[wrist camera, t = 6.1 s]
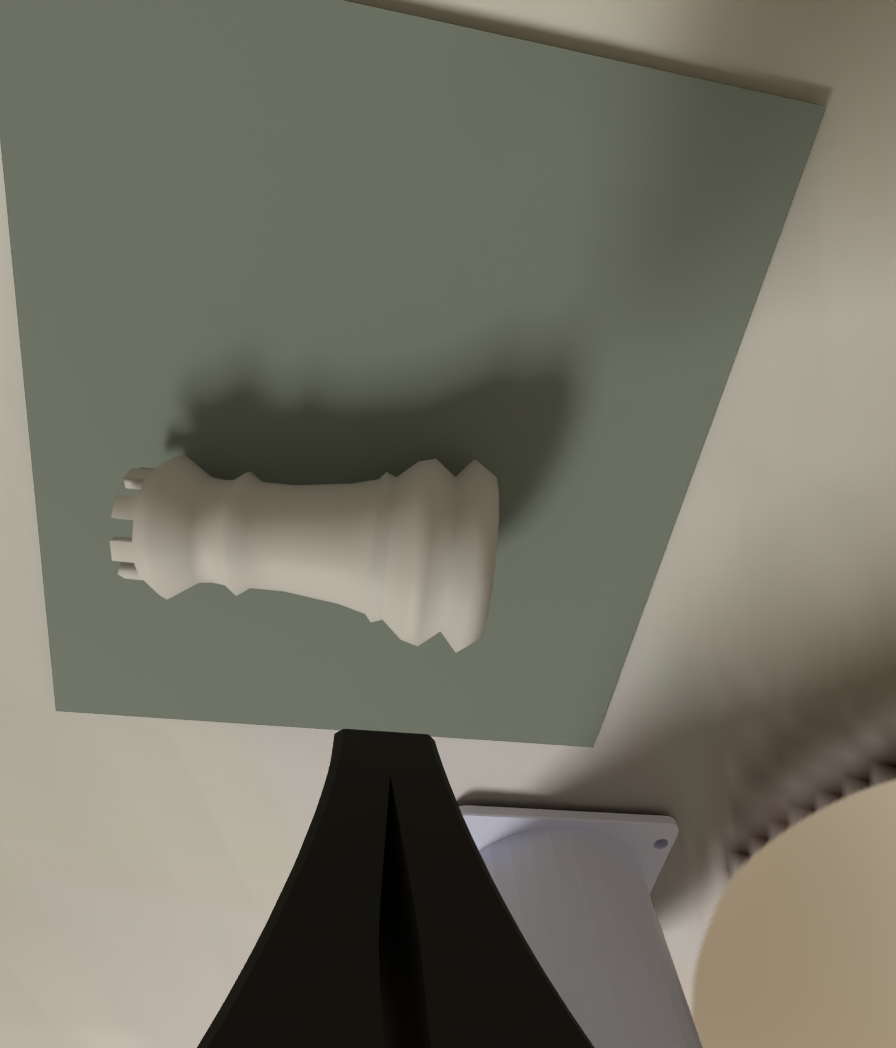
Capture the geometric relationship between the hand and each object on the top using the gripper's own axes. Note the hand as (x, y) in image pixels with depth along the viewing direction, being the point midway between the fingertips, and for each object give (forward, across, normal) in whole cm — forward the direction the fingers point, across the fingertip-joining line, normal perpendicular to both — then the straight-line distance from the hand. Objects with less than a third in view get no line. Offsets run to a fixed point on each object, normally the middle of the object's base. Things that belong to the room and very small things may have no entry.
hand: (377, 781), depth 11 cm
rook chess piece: (+7, -3, 0) cm, 7 cm away
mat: (+9, 0, -1) cm, 9 cm away
